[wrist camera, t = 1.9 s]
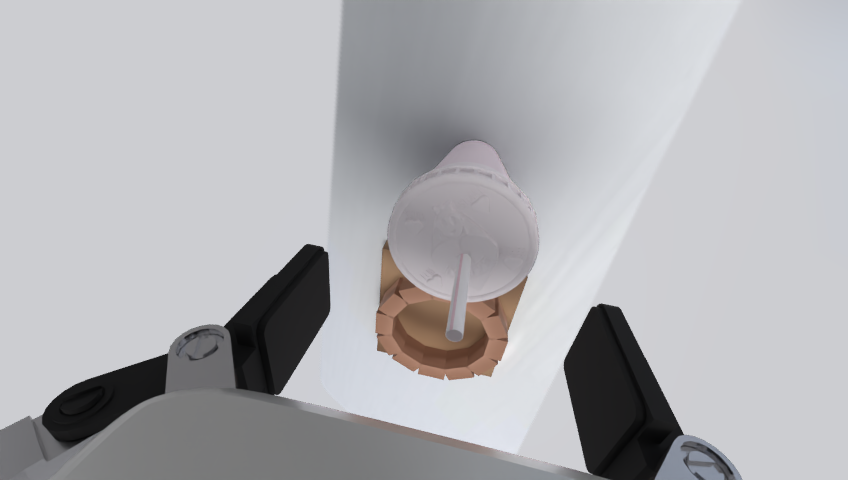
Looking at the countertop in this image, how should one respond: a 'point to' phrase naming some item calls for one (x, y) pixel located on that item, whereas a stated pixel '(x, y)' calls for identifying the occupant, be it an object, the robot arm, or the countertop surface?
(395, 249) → the smoothie
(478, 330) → the ring board
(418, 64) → the countertop surface
